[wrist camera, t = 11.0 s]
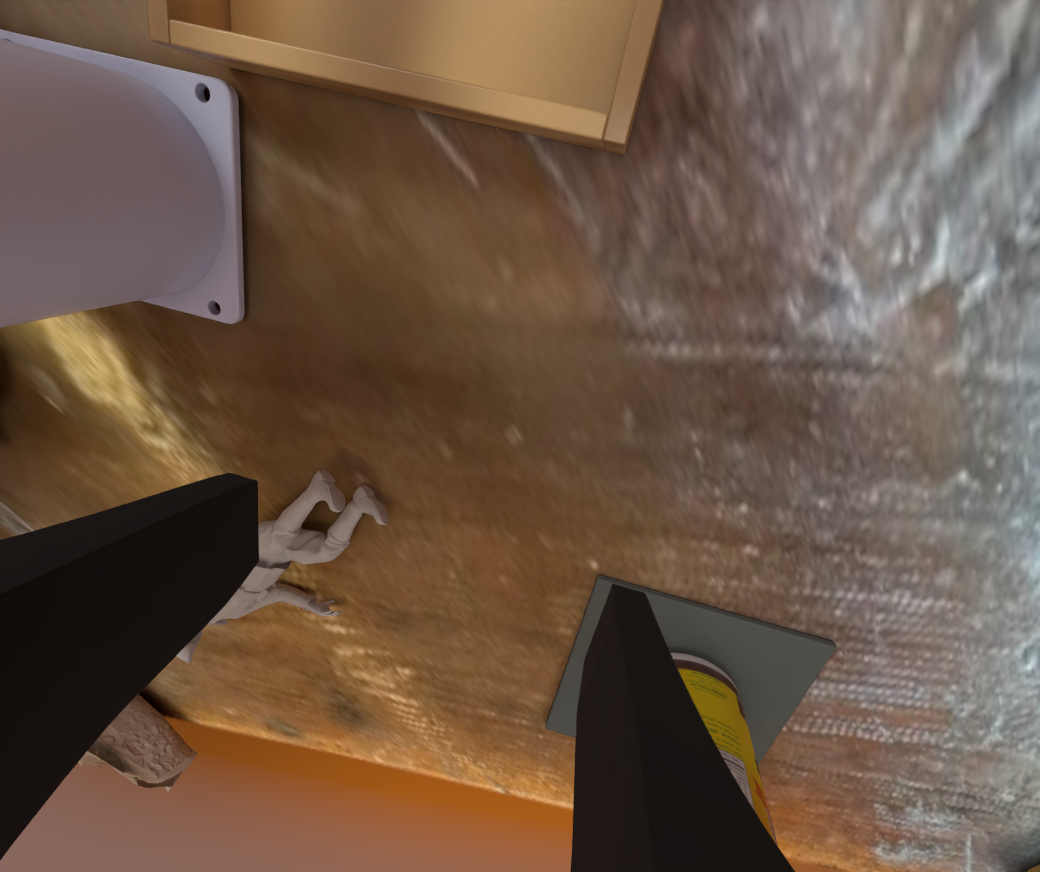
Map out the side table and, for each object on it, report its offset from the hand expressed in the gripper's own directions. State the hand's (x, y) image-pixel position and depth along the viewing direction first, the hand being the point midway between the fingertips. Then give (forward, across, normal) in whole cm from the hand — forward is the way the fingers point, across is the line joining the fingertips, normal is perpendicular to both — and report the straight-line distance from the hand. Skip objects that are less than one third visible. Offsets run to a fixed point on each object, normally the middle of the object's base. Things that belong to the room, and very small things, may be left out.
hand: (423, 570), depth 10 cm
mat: (+10, -10, +12) cm, 19 cm away
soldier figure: (+11, +9, +10) cm, 17 cm away
